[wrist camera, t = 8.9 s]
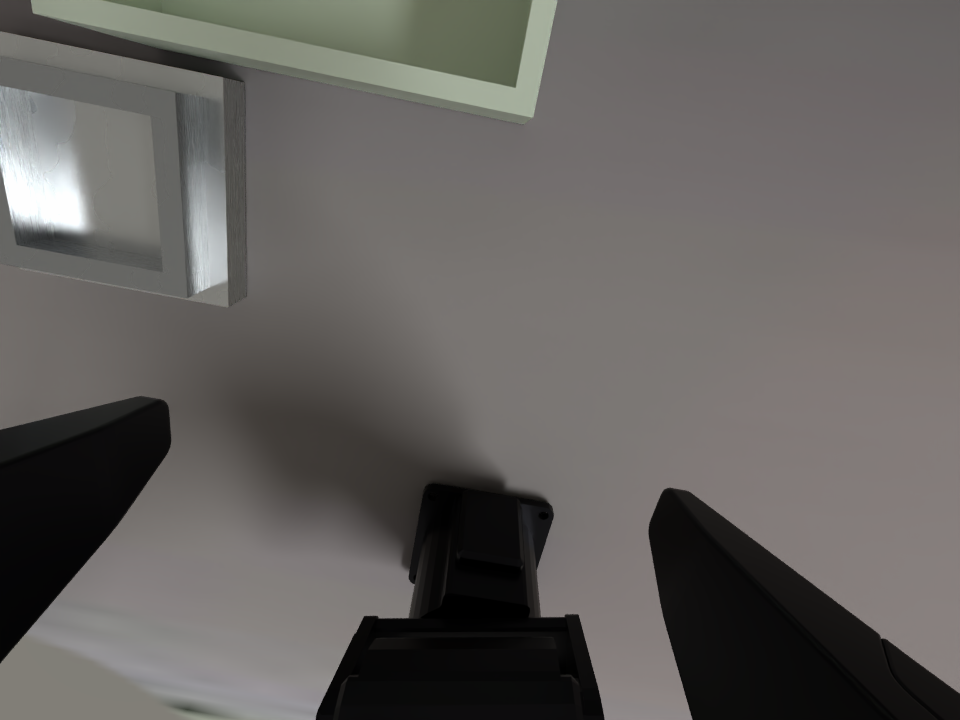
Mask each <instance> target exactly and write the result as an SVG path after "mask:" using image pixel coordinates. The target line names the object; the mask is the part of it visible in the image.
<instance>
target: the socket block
mask: <svg viewBox="0 0 960 720" xmlns="http://www.w3.org/2000/svg"><path fill="white" fill-rule="evenodd" d="M0 264H4V265H10V266H15V267H19V269H22V270H28V271H33V272H39V273H44V274H49V275H55V276H60V277H66V278H71V279H76V280H82V281H87V282H93V283H98V284H103V285H109V286H114V287H120V288H125V289H130V290H136V291H141V292H147V293H152V294H157V295H163V296H168V297H174V298H179V299H185V300H190V301H195V302H201V303H206V304H212V305H217V306H222V307H228V308H229V307H230V306H232V305H234V304H235V303H237V302H238V301H240V300H242V299H243V298H245V297H246V196H245V83H244V82H240V81H236V80H232V79H228V78H223V77H219V76H214V75H209V74H204V73H199V72H195V71H190V70H185V69H180V68H175V67H170V66H166V65H161V64H156V63H151V62H146V61H141V60H137V59H132V58H127V57H122V56H117V55H112V54H108V53H103V52H98V51H93V50H88V49H83V48H79V47H74V46H69V45H64V44H59V43H54V42H50V41H45V40H40V39H35V38H30V37H25V36H21V35H16V34H11V33H6V32H1V31H0Z"/></svg>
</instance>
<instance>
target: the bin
mask: <svg viewBox="0 0 960 720" xmlns="http://www.w3.org/2000/svg"><path fill="white" fill-rule="evenodd" d="M31 4H32V11H33V13H34V14H37V15H41V16H45V17H48V18H52V19H55V20H59V21H62V22H66V23H69V24H73V25H76V26H80V27H83V28H87V29H90V30H94V31H97V32H101V33H105V34H108V35H112V36H115V37H119V38H122V39H126V40H129V41H133V42H136V43H140V44H143V45H147V46H150V47H154V48H157V49H162V50H167V51H172V52H177V53H181V54H186V55H191V56H196V57H201V58H205V59H210V60H215V61H220V62H225V63H229V64H234V65H239V66H244V67H249V68H253V69H258V70H263V71H268V72H273V73H277V74H282V75H287V76H292V77H297V78H301V79H306V80H311V81H316V82H321V83H325V84H330V85H335V86H340V87H345V88H349V89H354V90H359V91H364V92H369V93H373V94H378V95H383V96H388V97H393V98H397V99H402V100H407V101H412V102H417V103H421V104H426V105H431V106H436V107H441V108H445V109H450V110H455V111H460V112H465V113H469V114H474V115H479V116H484V117H489V118H493V119H498V120H503V121H508V122H513V123H517V124H522V125H524V124H525V123H527V122H528V121H529V120H531V119H532V118H533V115H534V111H535V106H536V101H537V96H538V91H539V87H540V82H541V77H542V72H543V67H544V63H545V58H546V53H547V48H548V43H549V39H550V34H551V29H552V24H553V19H554V14H555V10H556V5H557V0H31Z"/></svg>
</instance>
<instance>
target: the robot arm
mask: <svg viewBox="0 0 960 720" xmlns="http://www.w3.org/2000/svg"><path fill="white" fill-rule="evenodd" d="M170 445H171V430H170V417H169V407H168V405H167V403H166V402H165V401H164V400H161V399H156V398H150V397H144V396H139V397H134V398H130V399H126V400H122V401H117V402H113V403H109V404H105V405H101V406H97V407H93V408H89V409H84V410H80V411H76V412H72V413H68V414H64V415H60V416H56V417H51V418H47V419H43V420H39V421H35V422H31V423H27V424H23V425H19V426H14V427H10V428H6V429H2V430H0V663H1V662H2V661H3V659H4V658H5V657H6V656H7V655H8V654H9V652H10V651H11V650H12V649H13V648H14V646H15V645H16V644H17V643H18V642H19V641H20V639H21V638H22V637H23V636H24V635H25V634H26V633H27V631H28V630H29V629H30V628H31V627H32V625H33V624H34V623H35V622H36V621H37V620H38V618H39V617H40V616H41V615H42V614H43V613H44V611H45V610H46V609H47V608H48V607H49V606H50V604H51V603H52V602H53V601H54V600H55V598H56V597H57V596H58V595H59V594H60V593H61V591H62V590H63V589H64V588H65V587H66V586H67V584H68V583H69V582H70V581H71V580H72V579H73V577H74V576H75V575H76V574H77V573H78V571H79V570H80V569H81V568H82V567H83V566H84V564H85V563H86V562H87V561H88V560H89V559H90V557H91V556H92V555H93V554H94V553H95V552H96V550H97V549H98V548H99V547H100V546H101V545H102V543H103V542H104V541H105V540H106V539H107V537H108V536H109V535H110V534H111V532H112V531H113V530H114V529H115V528H116V526H117V525H118V524H119V522H120V521H121V520H122V518H123V517H124V515H125V514H126V513H127V511H128V510H129V508H130V507H131V505H132V504H133V503H134V501H135V500H136V498H137V497H138V495H139V494H140V492H141V491H142V490H143V488H144V487H145V485H146V484H147V482H148V481H149V479H150V478H151V477H152V475H153V474H154V472H155V471H156V469H157V468H158V466H159V465H160V464H161V462H162V461H163V459H164V458H165V456H166V455H167V453H168V451H169V449H170ZM430 493H436V494H437V495H436V496H433V495H431V494H430ZM540 512H547V513H545V514H540ZM553 517H554V513H553V508H552V506H551V505H550V504H549V503H546V502H540V501H535V500H529V499H523V498H517V497H511V496H505V495H500V494H494V493H488V492H482V491H476V490H470V489H465V488H459V487H453V486H447V485H441V484H434V483H431V484H428V485H427V486H426V487H425V489H424V492H423V498H422V503H421V509H420V515H419V520H418V526H417V532H416V538H415V543H414V549H413V555H412V560H411V566H410V572H409V580H410V582H412V583H413V584H415V586H414V592H413V597H412V602H411V608H410V613H409V618H378V616H364V618H363V620H362V622H361V624H360V626H359V628H358V630H357V632H356V634H354V636H353V638H352V640H351V642H350V644H349V646H348V648H347V650H346V653H345V655H344V657H343V659H342V661H341V663H340V665H339V667H338V669H337V671H336V673H335V675H334V678H333V680H332V682H331V684H330V686H329V688H328V690H327V692H326V694H325V696H324V698H323V700H322V703H321V705H320V707H319V709H318V712H317V715H316V720H604V714H603V708H602V703H601V698H600V694H599V690H598V686H597V682H596V678H595V675H594V671H593V667H592V663H591V660H590V656H589V652H588V648H587V645H586V641H585V637H584V633H583V630H582V626H581V622H580V618H579V615H578V614H570V615H565V617H541V614H540V603H539V592H538V582H537V571H536V570H537V567H538V564H539V561H540V558H541V555H542V552H543V549H544V545H545V542H546V539H547V536H548V533H549V530H550V527H551V524H552V520H553ZM649 540H650V546H651V551H652V557H653V563H654V569H655V574H656V580H657V586H658V592H659V597H660V603H661V608H662V613H663V617H664V621H665V624H666V628H667V632H668V635H669V639H670V642H671V646H672V649H673V653H674V656H675V660H676V663H677V667H678V670H679V674H680V677H681V681H682V684H683V688H684V691H685V695H686V698H687V702H688V705H689V709H690V712H691V716H692V719H693V720H960V693H958V692H957V691H955V690H954V689H953V688H951V687H950V686H949V685H947V684H946V683H944V682H943V681H942V680H940V679H939V678H938V677H936V676H935V675H934V674H932V673H931V672H929V671H928V670H927V669H925V668H924V667H923V666H921V665H920V664H919V663H917V662H916V661H914V660H913V659H912V658H910V657H909V656H908V655H906V654H905V653H904V652H902V651H901V650H900V649H898V648H897V647H896V646H894V645H893V644H892V643H890V642H889V641H888V640H886V639H881V637H880V635H879V634H878V633H877V632H876V631H874V630H873V629H872V628H870V627H869V626H868V625H866V624H865V623H864V622H862V621H861V620H860V619H858V618H857V617H856V616H854V615H853V614H852V613H850V612H849V611H848V610H846V609H845V608H844V607H842V606H841V605H840V604H838V603H837V602H836V601H834V600H833V599H832V598H830V597H829V596H828V595H826V594H825V593H824V592H822V591H821V590H820V589H818V588H817V587H816V586H814V585H813V584H812V583H810V582H809V581H808V580H806V579H805V578H804V577H802V576H801V575H800V574H798V573H797V572H796V571H794V570H793V569H792V568H790V567H789V566H788V565H786V564H785V563H784V562H782V561H781V560H780V559H778V558H777V557H776V556H774V555H773V554H772V553H770V552H769V551H768V550H766V549H765V548H764V547H762V546H761V545H760V544H758V543H757V542H756V541H754V540H753V539H752V538H750V537H749V536H748V535H746V534H745V533H744V532H742V531H741V530H740V529H738V528H737V527H736V526H734V525H733V524H732V523H730V522H729V521H728V520H727V519H725V518H724V517H723V516H721V515H720V514H719V513H717V512H716V511H715V510H713V509H712V508H711V507H709V506H708V505H707V504H705V503H704V502H703V501H701V500H700V499H699V498H697V497H696V496H695V495H693V494H692V493H690V492H689V491H686V490H680V489H674V488H667V489H665V490H664V491H663V492H662V494H661V496H660V498H659V501H658V503H657V506H656V508H655V511H654V513H653V516H652V518H651V521H650V524H649Z"/></svg>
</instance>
